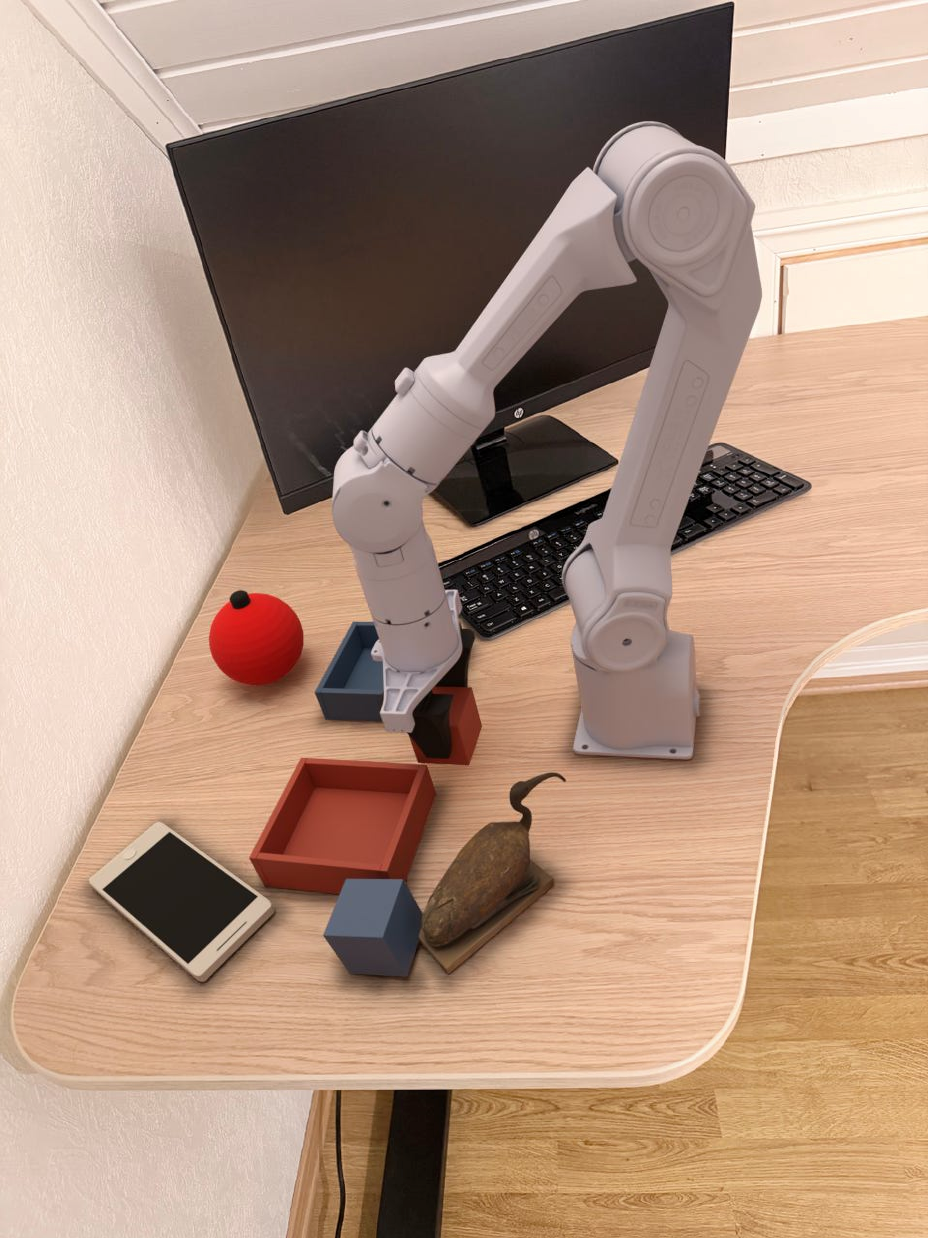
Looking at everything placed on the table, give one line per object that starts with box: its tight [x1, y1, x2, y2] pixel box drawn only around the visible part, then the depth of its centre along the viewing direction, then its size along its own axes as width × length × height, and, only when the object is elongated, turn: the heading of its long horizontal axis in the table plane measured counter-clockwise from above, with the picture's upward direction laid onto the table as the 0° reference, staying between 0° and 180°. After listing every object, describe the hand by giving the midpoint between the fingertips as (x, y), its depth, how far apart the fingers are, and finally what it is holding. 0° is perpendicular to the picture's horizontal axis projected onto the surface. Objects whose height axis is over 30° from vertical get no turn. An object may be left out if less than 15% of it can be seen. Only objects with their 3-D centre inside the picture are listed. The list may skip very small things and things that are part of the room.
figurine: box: [419, 771, 567, 975], centre depth 63 cm, size 14×4×9 cm, turn 129°
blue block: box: [322, 879, 424, 978], centre depth 62 cm, size 4×4×4 cm
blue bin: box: [314, 621, 463, 723], centre depth 85 cm, size 11×10×4 cm
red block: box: [408, 686, 483, 767], centre depth 74 cm, size 4×4×4 cm
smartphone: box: [88, 821, 276, 983], centre depth 70 cm, size 7×16×1 cm, turn 50°
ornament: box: [208, 589, 305, 687], centre depth 88 cm, size 9×9×10 cm
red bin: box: [248, 757, 437, 895], centre depth 71 cm, size 11×10×4 cm
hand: (447, 732), depth 75 cm, fingers closed on red block, 4 cm apart
